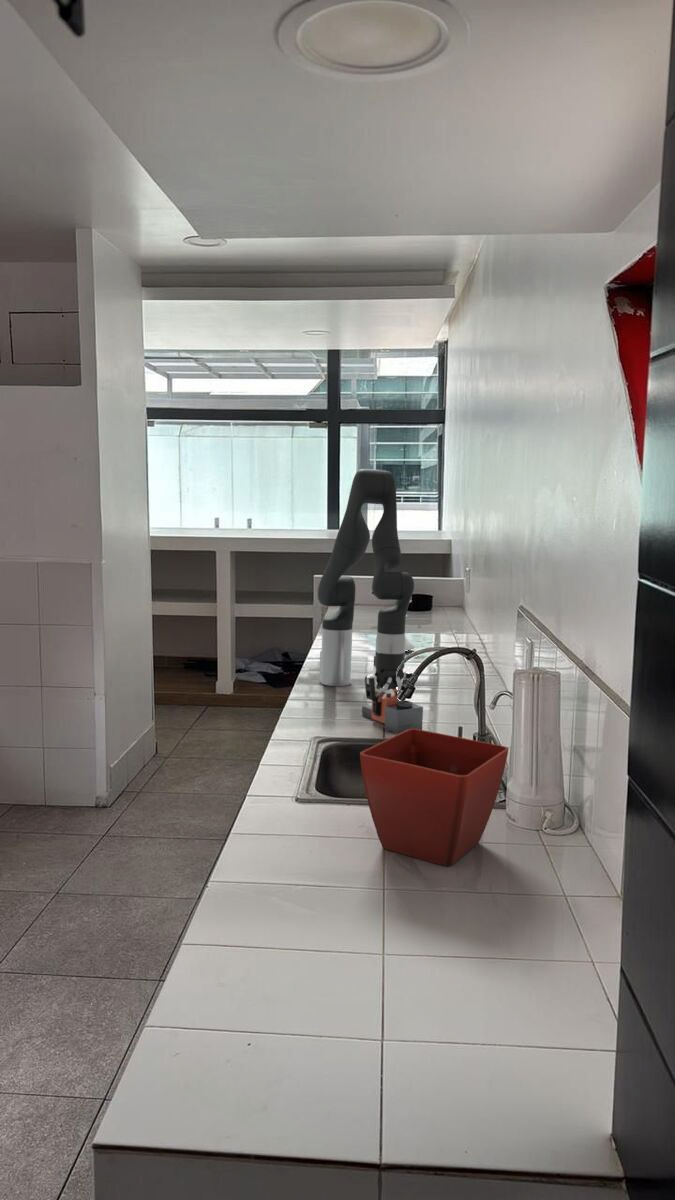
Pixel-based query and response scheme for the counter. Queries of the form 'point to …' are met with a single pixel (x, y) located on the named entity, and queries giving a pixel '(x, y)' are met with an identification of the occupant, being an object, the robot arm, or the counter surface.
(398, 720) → the coupler
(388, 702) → the notched red block
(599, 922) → the counter surface
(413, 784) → the plant pot
